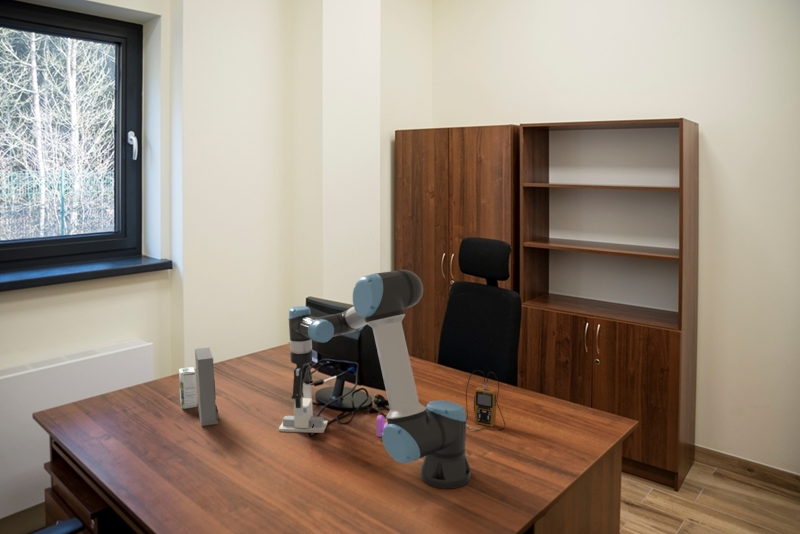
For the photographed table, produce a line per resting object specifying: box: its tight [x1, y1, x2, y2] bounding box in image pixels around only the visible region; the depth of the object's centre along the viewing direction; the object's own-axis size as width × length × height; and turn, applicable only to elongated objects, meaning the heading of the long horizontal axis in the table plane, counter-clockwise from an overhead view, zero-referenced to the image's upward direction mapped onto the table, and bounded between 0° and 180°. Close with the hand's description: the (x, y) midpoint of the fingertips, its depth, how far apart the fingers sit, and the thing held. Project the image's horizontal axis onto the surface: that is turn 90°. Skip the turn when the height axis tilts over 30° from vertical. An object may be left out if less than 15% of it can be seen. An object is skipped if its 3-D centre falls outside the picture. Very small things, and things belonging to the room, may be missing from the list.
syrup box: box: [178, 367, 198, 410], centre depth 252 cm, size 6×6×14 cm
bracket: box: [375, 414, 388, 438], centre depth 230 cm, size 13×6×7 cm, turn 161°
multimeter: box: [465, 369, 506, 432], centre depth 231 cm, size 15×10×20 cm
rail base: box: [277, 415, 328, 434], centre depth 233 cm, size 16×8×4 cm, turn 86°
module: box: [293, 397, 314, 428], centre depth 232 cm, size 5×8×8 cm, turn 176°
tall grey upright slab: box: [194, 347, 219, 427], centre depth 239 cm, size 14×6×25 cm, turn 22°
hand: (303, 408), depth 231 cm, fingers open, 13 cm apart
